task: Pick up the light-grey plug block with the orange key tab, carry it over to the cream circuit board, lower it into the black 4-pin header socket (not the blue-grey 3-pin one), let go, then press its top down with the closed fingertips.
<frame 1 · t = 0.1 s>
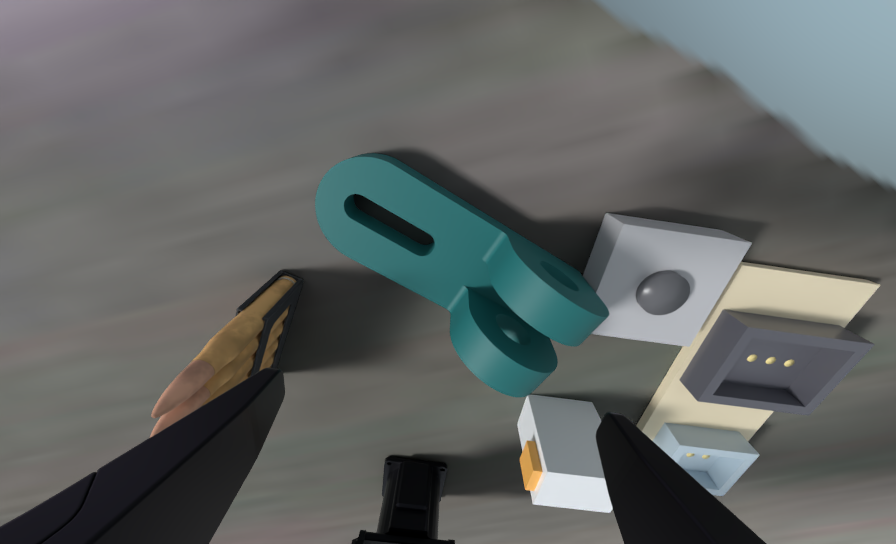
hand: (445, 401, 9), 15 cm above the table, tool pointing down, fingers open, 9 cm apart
header 3pin: (680, 440, 30), resting on board
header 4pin: (746, 347, 25), resting on board
board: (720, 383, 27), on the table
grey knob block: (639, 274, 23), on the table
ammunition clip: (278, 324, 26), on the table
plug: (553, 413, 29), on the table
bracket: (449, 245, 23), on the table
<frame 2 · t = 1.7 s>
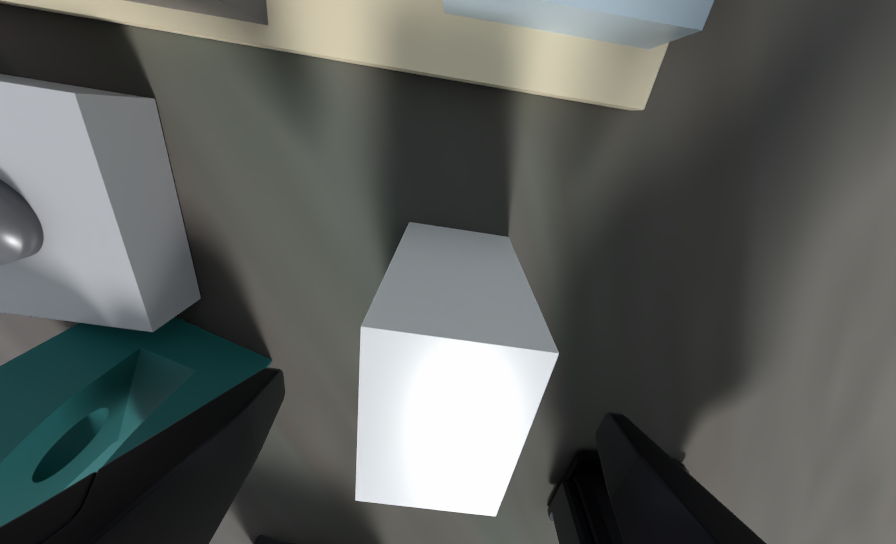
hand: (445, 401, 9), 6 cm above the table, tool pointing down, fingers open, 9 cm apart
grey knob block: (76, 197, 12), on the table
plug: (448, 293, 14), on the table
bracket: (173, 428, 19), on the table
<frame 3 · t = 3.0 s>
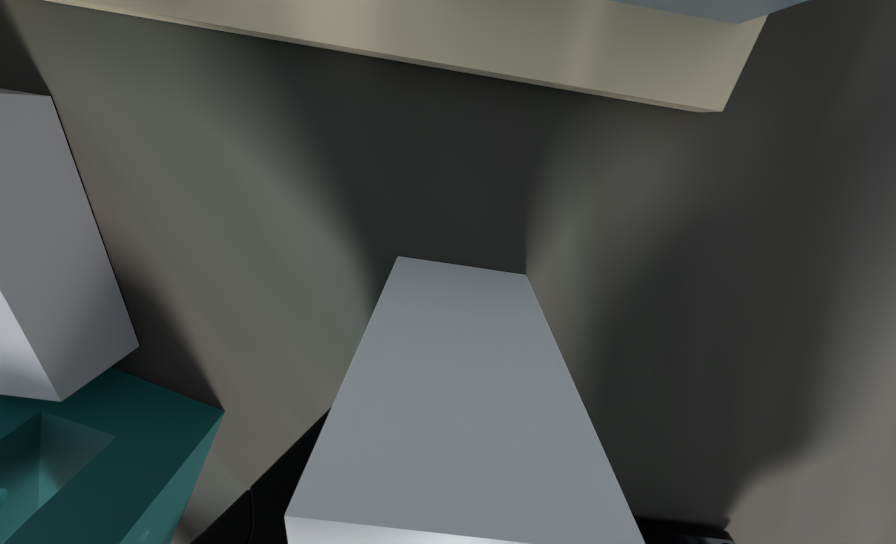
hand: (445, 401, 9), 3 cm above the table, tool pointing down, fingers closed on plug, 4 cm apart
plug: (448, 342, 11), on the table, touching gripper
bracket: (120, 484, 16), on the table
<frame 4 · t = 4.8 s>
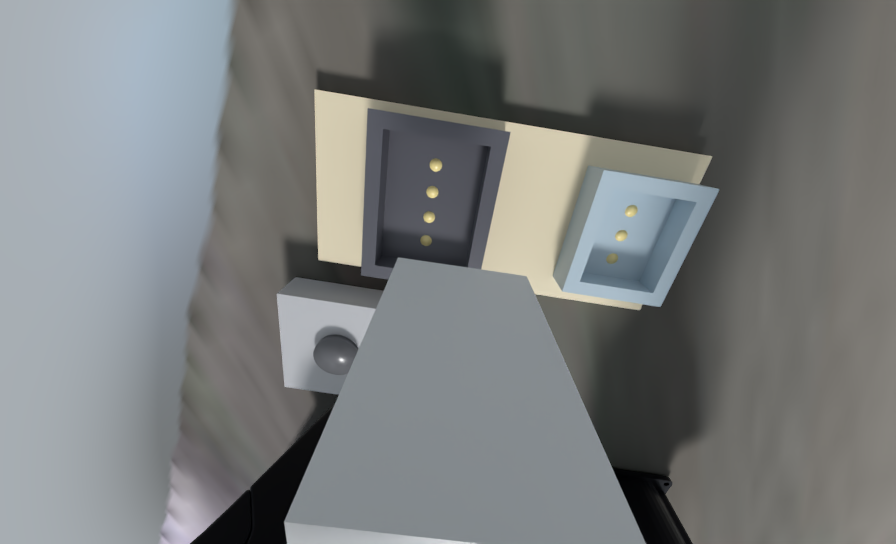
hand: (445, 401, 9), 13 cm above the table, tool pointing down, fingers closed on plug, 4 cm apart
header 3pin: (611, 228, 20), resting on board
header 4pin: (432, 199, 20), resting on board
board: (495, 210, 20), on the table
grey knob block: (350, 331, 24), on the table
plug: (448, 343, 11), point 11 cm above the table, touching gripper
when the fingers open (4 cm above the table, at t = 6.6 s): plug stays where it is, resting on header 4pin.
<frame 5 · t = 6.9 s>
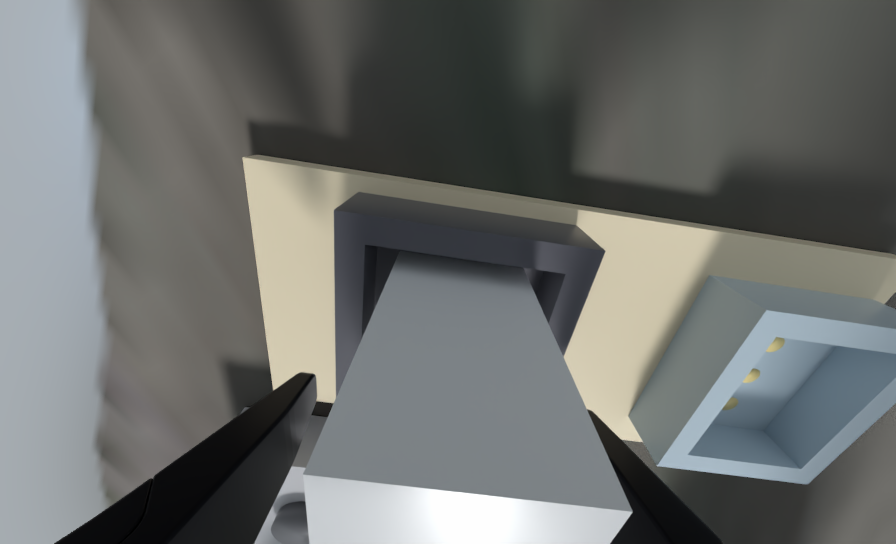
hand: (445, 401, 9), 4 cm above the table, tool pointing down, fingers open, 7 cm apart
header 3pin: (721, 351, 13), resting on board
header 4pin: (448, 312, 13), resting on board
board: (545, 326, 13), on the table
grey knob block: (328, 467, 17), on the table
plug: (448, 334, 11), point 1 cm above the table, touching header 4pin
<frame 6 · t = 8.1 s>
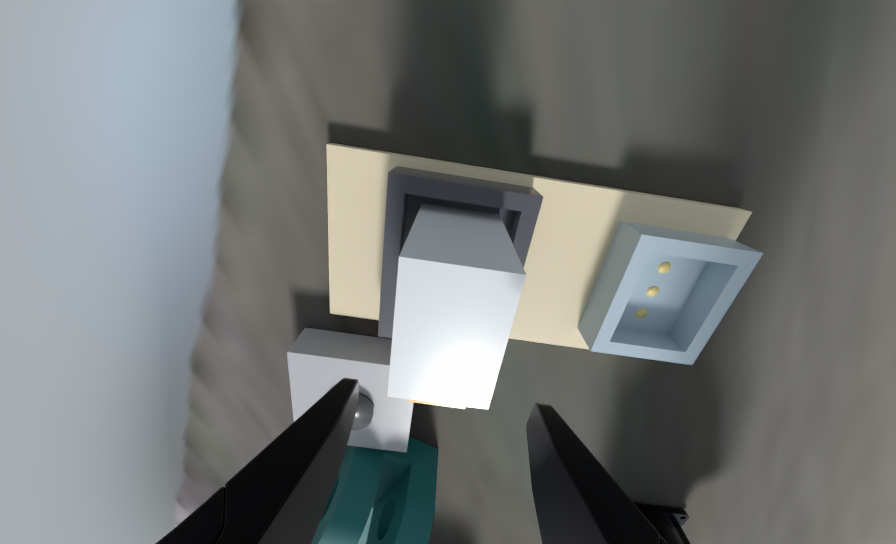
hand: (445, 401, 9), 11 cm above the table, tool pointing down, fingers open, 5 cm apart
header 3pin: (639, 279, 19), resting on board
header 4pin: (452, 252, 19), resting on board
board: (518, 261, 19), on the table
grey knob block: (362, 378, 23), on the table
plug: (452, 261, 17), point 1 cm above the table, touching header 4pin
bracket: (359, 484, 30), on the table
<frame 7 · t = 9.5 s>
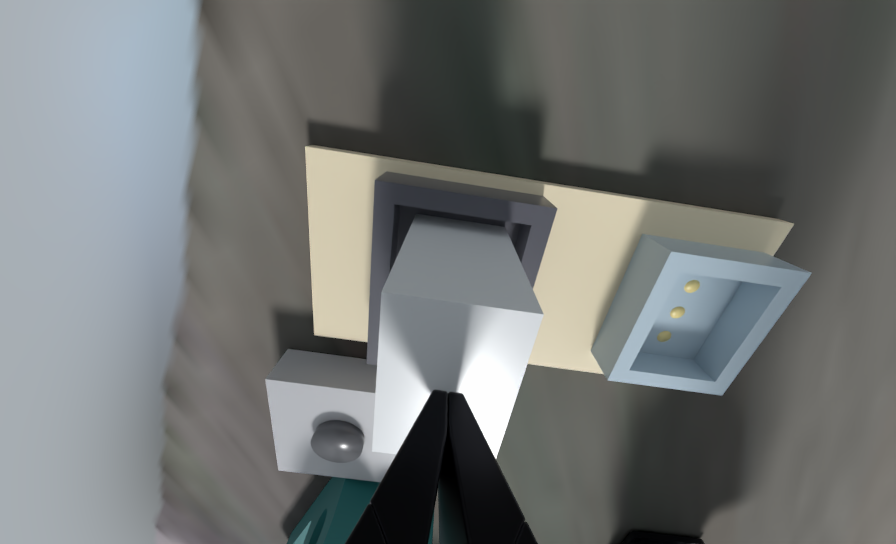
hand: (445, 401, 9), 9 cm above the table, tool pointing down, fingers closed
header 3pin: (661, 298, 17), resting on board
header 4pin: (450, 267, 17), resting on board
board: (525, 278, 17), on the table
grey knob block: (352, 403, 21), on the table
plug: (450, 279, 15), point 1 cm above the table, touching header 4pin
bracket: (351, 510, 27), on the table
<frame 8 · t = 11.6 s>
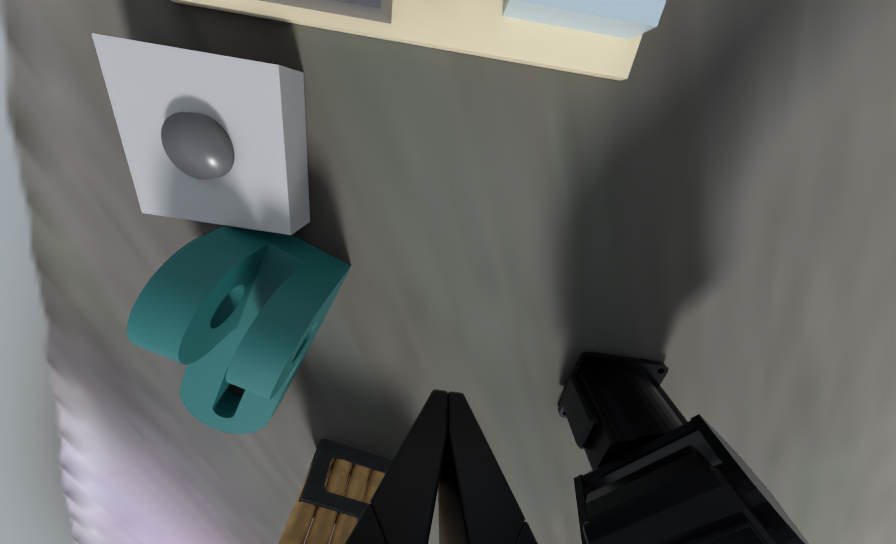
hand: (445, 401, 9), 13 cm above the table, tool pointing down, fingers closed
grey knob block: (235, 143, 18), on the table
ammunition clip: (374, 459, 30), on the table
bracket: (265, 333, 24), on the table
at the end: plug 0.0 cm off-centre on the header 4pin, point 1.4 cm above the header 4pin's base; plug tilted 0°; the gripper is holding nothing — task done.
